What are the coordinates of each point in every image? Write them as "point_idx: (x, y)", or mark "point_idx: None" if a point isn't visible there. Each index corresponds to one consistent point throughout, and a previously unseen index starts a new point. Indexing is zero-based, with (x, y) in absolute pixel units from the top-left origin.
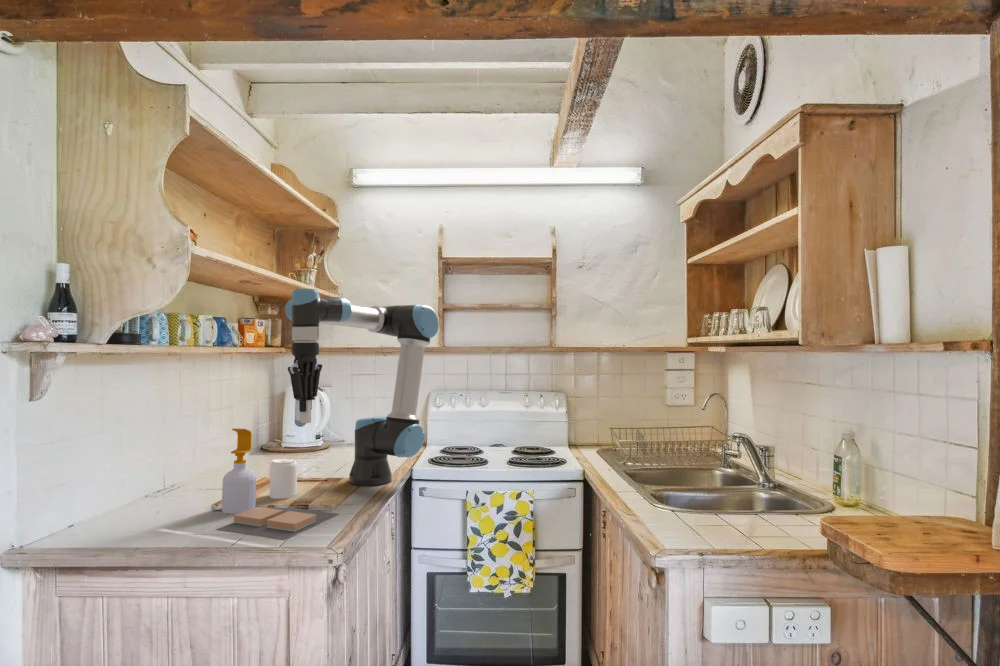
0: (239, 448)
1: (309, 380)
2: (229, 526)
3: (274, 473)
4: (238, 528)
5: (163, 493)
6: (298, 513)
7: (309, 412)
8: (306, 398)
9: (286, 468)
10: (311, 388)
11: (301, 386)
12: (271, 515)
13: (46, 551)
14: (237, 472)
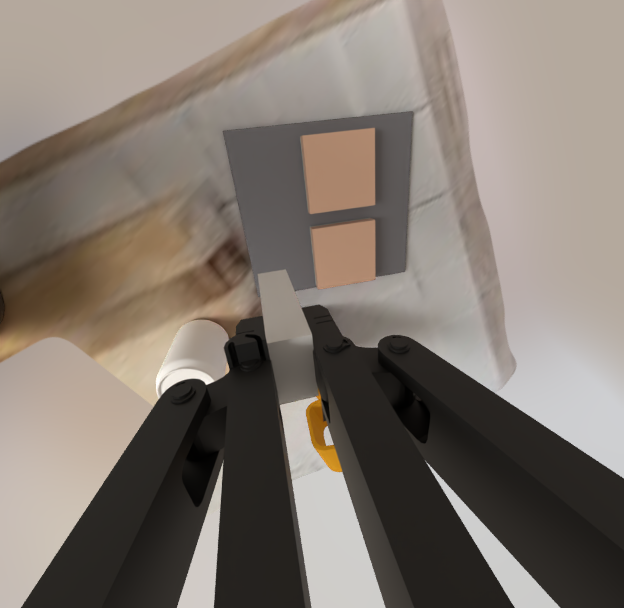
0: (322, 425)
1: (301, 590)
2: (385, 266)
3: (224, 369)
4: (388, 245)
5: (298, 470)
6: (314, 181)
7: (277, 295)
8: (337, 342)
9: (204, 358)
10: (260, 441)
11: (485, 428)
12: (346, 224)
13: (508, 361)
14: None
